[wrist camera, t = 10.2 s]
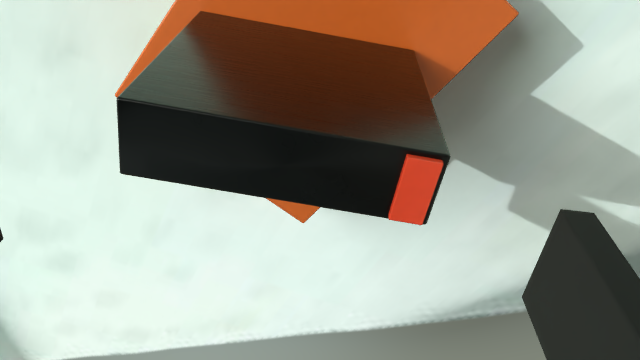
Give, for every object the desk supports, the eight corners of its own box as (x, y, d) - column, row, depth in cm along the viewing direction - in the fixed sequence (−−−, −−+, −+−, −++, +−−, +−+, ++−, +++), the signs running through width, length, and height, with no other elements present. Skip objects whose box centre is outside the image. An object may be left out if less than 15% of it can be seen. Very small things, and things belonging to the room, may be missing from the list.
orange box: (290, -214, 20) (278, -230, 17) (511, 7, 24) (539, 32, 21) (124, 52, 26) (89, 82, 23) (322, 193, 30) (319, 237, 27)
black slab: (197, 65, 22) (116, 178, 14) (200, 10, 21) (111, 101, 13) (400, 102, 23) (427, 230, 15) (414, 49, 21) (453, 160, 14)
